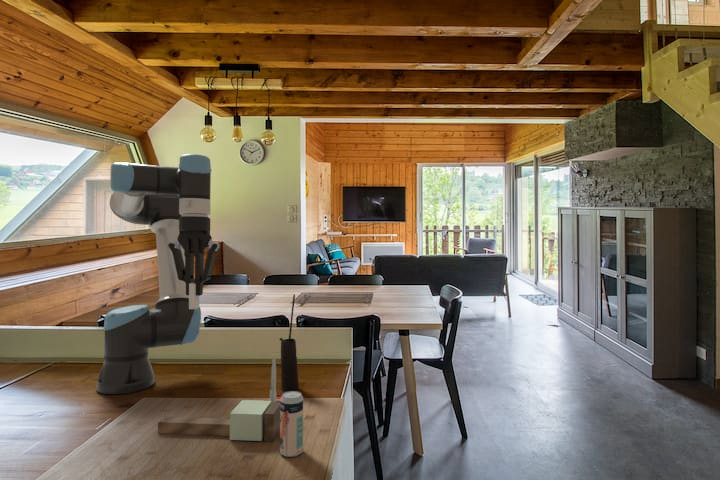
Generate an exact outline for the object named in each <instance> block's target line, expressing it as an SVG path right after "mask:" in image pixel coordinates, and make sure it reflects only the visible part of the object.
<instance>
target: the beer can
mask: <svg viewBox="0 0 720 480" xmlns="http://www.w3.org/2000/svg"><path fill="white" fill-rule="evenodd" d="M280 397H281V399H280V431H279V453H280V455H282V456H284V457H285V458H295V457H298V456H299V455H301V454H302V453H303V452H304V396H303V395H302V392H300V391H290V392H283V393H282V396H280Z"/></svg>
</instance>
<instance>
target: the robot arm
mask: <svg viewBox="0 0 720 480" xmlns="http://www.w3.org/2000/svg"><path fill="white" fill-rule="evenodd" d="M178 162H179V164H178V166H177V167H175V166H165V165H152V164H142V163H131V162H127V161H126V162H113V163H112V164H111V165H110V177H109V178H110V182H109V183H110V189H111V191H112V192H113V193H112V194H111V195H110V198H109V207H110V209H111V212H112V214H114V215H115V216H116V217H118V218H120V219H121V220H122V221H125V222H127V223H130V224H134V225H141V226H142V225H148V226H150V231H151V232H152V233H154V234H155V239H156V240H155V241H156V242H155V243H156V256H157V273H158V289H159V290H158V291H159V299H158V300H157V301H156V302H155V303H154V308H150V307H149V305H148V304H134V305H128V306H124V307H119V308H114V309H112V310H110V311H109V312H107V313H106V314H105V316H104V324H103V328H102V329H103V331H104V333H103V337H104V340H103V342H104V343H103V364H102V368H101V370H100V372H99V375H98V377H97V381H96V391H97V392H98V393H99V394H103V395H104V394H105V395H121V394H128V393H134V392H138V391H142V390H145V389H148V388H150V387H151V386H153V385H154V383H156V381H155V372H154V370H153V367H152V364H151V362H150V358H149V349H152V348H162V347H169V346H170V347H171V346H179V345H180V346H182V345H185V344H191V343H195V341H196V340H197V339H198V337H199V334H200V330H201V323H202V322H201V321H202V310H201V306H200V296H202V295H203V294H204V289H203V288H204V286H203V285H204V282H206V281H209V280H211V276H212V274H213V268H214V265H215V260H216V258H217V257H216V256H217V253H218V251H219V249H220V248H221V247H222V246H221V244H220V243H217V242H215V241H214V240H213V239H212V237H213V236H212V235H211V218H210V217H209V216H210V215H211V178H212V177H211V175H212V166H211V159H210V157H208V156H206V155H202V154H193V153H188V154H186V153H185V154H182V155H180V156H179V161H178ZM206 249H208V252H207V256H206V259H205V257H204V256H205V250H206ZM204 259H205V260H204ZM204 261H205V262H204Z"/></svg>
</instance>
